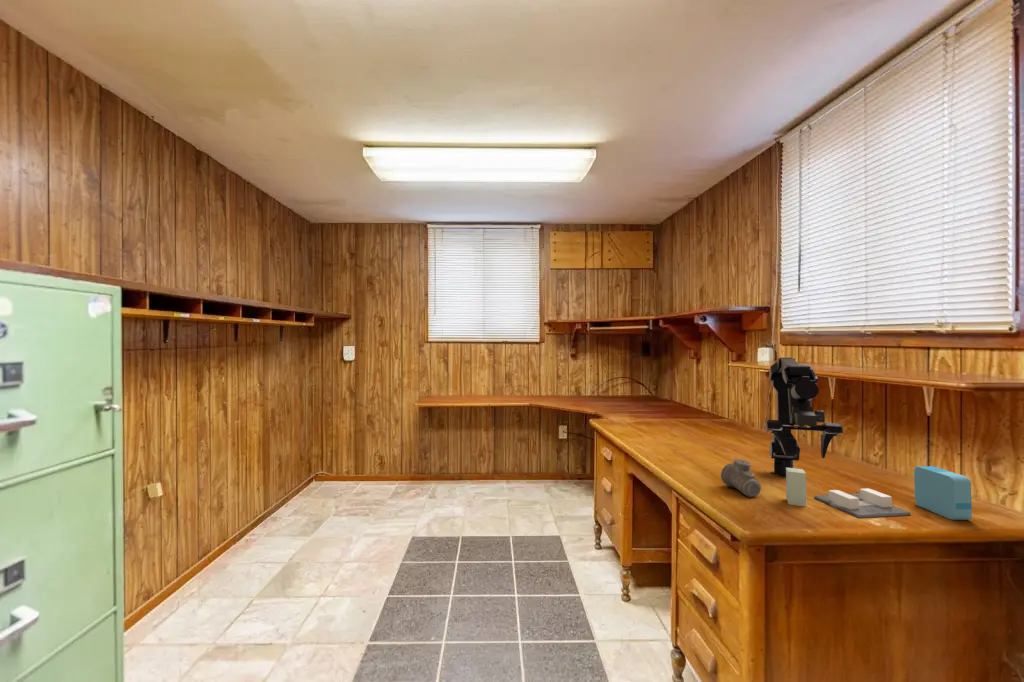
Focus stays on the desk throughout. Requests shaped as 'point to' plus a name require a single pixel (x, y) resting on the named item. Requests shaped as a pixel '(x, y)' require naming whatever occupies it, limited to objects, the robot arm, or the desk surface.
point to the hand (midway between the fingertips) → (804, 456)
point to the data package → (943, 492)
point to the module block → (796, 486)
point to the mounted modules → (865, 494)
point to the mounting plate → (865, 508)
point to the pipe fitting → (741, 478)
